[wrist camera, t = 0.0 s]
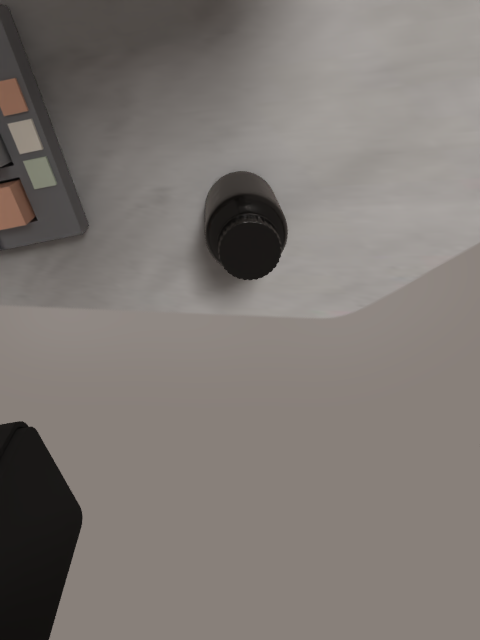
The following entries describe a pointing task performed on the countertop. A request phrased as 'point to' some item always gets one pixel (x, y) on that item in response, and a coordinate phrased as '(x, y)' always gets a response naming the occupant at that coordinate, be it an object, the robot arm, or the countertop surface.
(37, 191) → the keypad
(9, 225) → the key terracotta
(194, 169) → the countertop surface
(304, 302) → the countertop surface
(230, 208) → the supplement bottle
